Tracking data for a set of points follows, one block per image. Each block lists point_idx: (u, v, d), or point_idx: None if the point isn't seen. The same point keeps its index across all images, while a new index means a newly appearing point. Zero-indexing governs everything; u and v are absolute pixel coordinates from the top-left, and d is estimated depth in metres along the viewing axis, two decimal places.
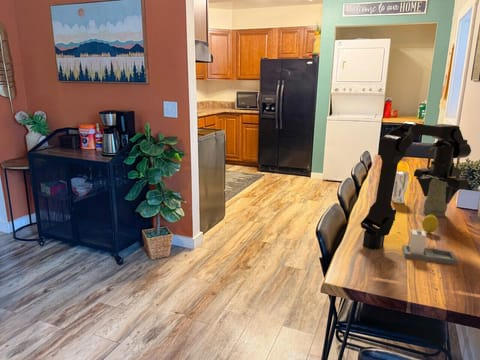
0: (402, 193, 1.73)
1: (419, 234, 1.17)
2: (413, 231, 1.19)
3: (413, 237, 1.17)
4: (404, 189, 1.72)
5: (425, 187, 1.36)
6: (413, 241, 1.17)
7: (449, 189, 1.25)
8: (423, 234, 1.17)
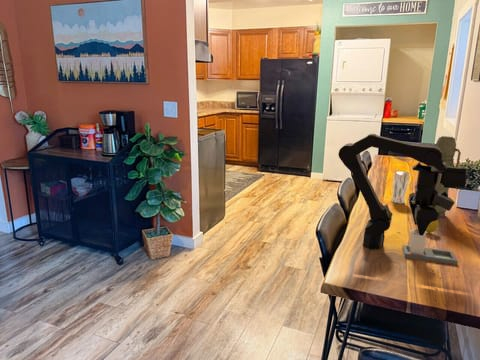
0: (402, 193, 1.73)
1: None
2: (413, 231, 1.19)
3: (413, 237, 1.17)
4: (404, 189, 1.72)
5: None
6: (413, 241, 1.17)
7: (415, 217, 1.11)
8: None
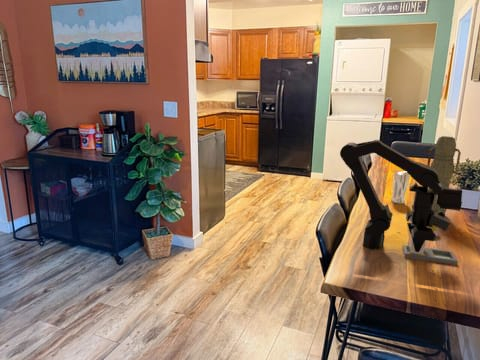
0: (402, 193, 1.73)
1: None
2: None
3: None
4: (404, 189, 1.72)
5: None
6: None
7: (411, 235, 1.15)
8: None
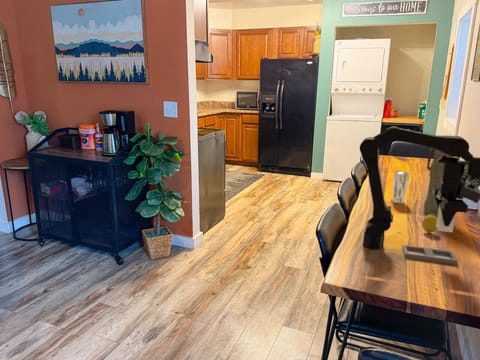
0: (402, 193, 1.73)
1: None
2: None
3: None
4: (404, 189, 1.72)
5: None
6: None
7: (440, 208, 1.10)
8: None
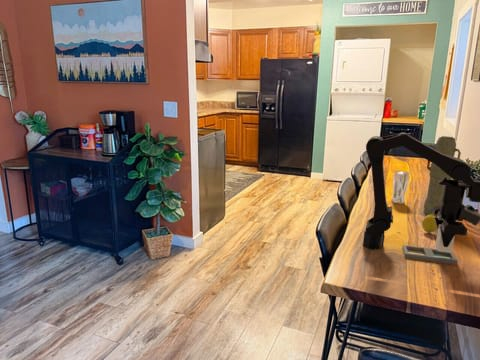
0: (402, 193, 1.73)
1: None
2: (441, 225, 1.16)
3: None
4: (404, 189, 1.72)
5: None
6: None
7: (440, 229, 1.12)
8: None
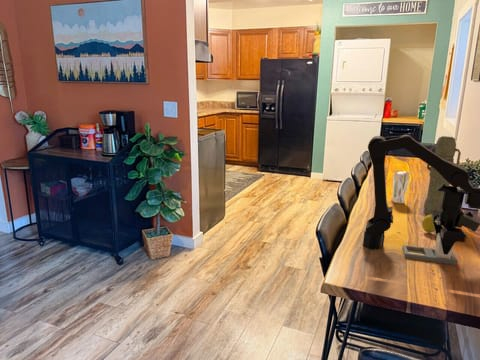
0: (402, 193, 1.73)
1: None
2: None
3: (440, 241, 1.15)
4: (404, 189, 1.72)
5: None
6: (440, 245, 1.15)
7: (440, 237, 1.11)
8: None
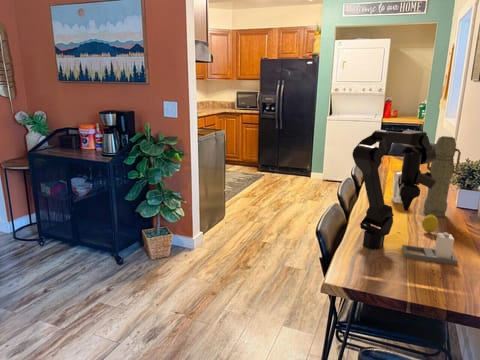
0: None
1: (447, 237, 1.14)
2: (440, 234, 1.17)
3: (440, 241, 1.15)
4: None
5: None
6: (440, 245, 1.15)
7: (400, 194, 1.25)
8: (451, 237, 1.14)
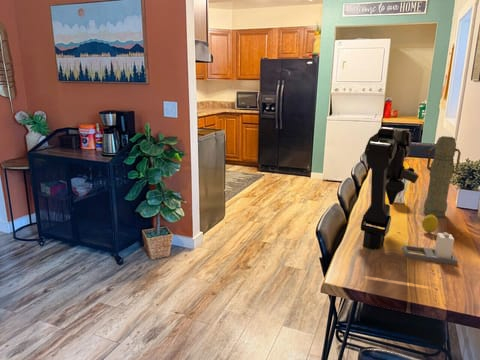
0: (402, 193, 1.73)
1: (447, 237, 1.14)
2: (440, 234, 1.17)
3: (440, 241, 1.15)
4: (404, 189, 1.72)
5: None
6: (440, 245, 1.15)
7: (385, 189, 1.31)
8: (451, 237, 1.14)
